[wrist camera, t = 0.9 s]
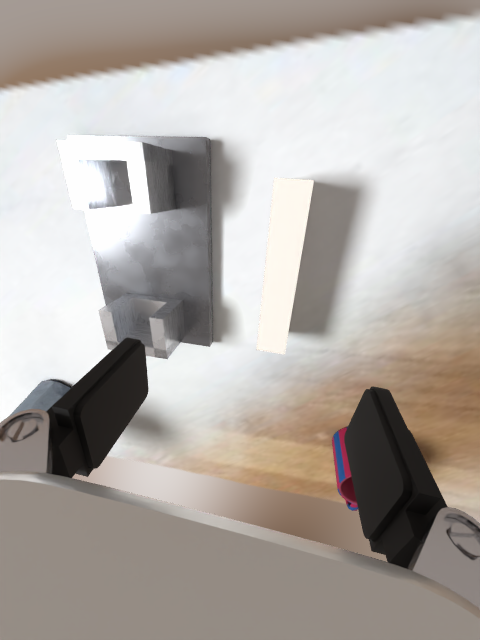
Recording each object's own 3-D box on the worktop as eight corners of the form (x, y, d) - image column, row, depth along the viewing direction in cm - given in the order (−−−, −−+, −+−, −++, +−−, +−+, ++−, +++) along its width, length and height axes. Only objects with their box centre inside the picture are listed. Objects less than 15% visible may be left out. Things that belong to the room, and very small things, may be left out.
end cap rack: (209, 139, 24) (182, 125, 18) (212, 341, 34) (195, 371, 28) (76, 137, 26) (17, 124, 20) (117, 327, 36) (85, 351, 31)
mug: (391, 434, 35) (410, 485, 29) (360, 475, 40) (371, 526, 34) (342, 419, 35) (350, 466, 29) (317, 461, 40) (320, 509, 34)
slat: (311, 181, 24) (314, 180, 19) (287, 331, 31) (284, 354, 27) (279, 179, 24) (274, 177, 20) (262, 327, 32) (256, 349, 27)
